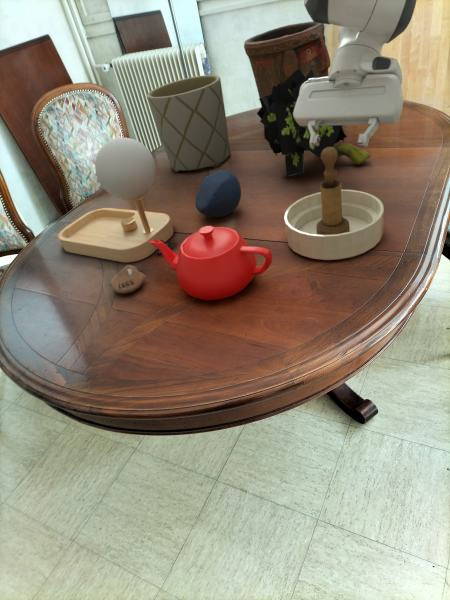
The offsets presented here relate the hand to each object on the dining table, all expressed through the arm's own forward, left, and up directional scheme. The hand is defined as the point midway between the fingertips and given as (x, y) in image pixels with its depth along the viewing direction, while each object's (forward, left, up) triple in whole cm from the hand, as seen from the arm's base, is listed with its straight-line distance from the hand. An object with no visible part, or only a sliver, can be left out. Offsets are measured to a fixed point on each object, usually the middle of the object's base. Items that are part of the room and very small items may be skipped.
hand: (337, 145), depth 80 cm
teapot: (+23, +20, -18) cm, 35 cm away
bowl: (+1, +5, -17) cm, 18 cm away
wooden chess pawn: (+1, +5, -17) cm, 18 cm away
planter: (+46, -48, -18) cm, 69 cm away
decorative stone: (+29, -9, -18) cm, 35 cm away
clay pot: (+16, -68, -18) cm, 73 cm away
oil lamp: (+42, +20, -18) cm, 50 cm away
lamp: (+53, +1, -18) cm, 56 cm away
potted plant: (+7, -32, -18) cm, 38 cm away
